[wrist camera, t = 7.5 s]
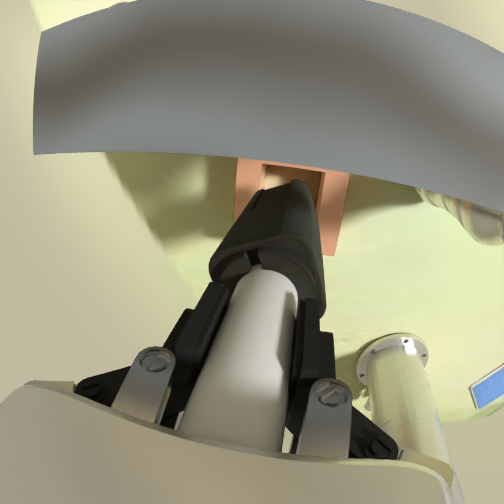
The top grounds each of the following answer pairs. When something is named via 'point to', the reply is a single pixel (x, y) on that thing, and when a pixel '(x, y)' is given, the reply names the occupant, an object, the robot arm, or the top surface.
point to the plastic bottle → (470, 217)
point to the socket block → (328, 202)
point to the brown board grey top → (279, 89)
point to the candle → (258, 319)
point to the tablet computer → (488, 388)
